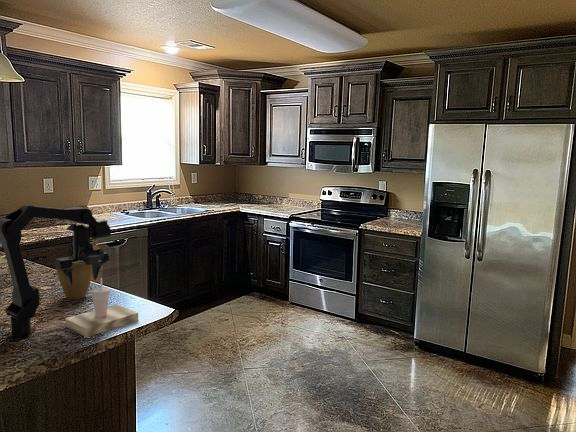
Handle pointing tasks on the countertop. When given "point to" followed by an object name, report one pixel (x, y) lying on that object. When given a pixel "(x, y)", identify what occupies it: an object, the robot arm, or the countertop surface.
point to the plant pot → (76, 280)
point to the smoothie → (100, 300)
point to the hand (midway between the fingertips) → (83, 282)
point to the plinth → (101, 320)
